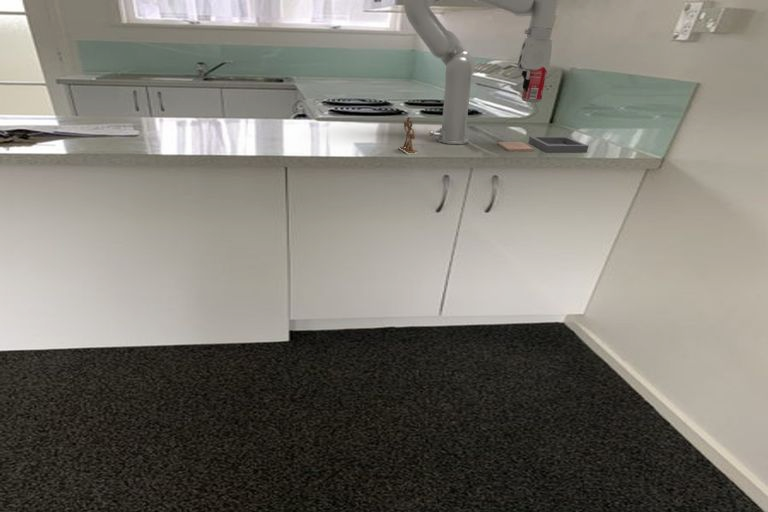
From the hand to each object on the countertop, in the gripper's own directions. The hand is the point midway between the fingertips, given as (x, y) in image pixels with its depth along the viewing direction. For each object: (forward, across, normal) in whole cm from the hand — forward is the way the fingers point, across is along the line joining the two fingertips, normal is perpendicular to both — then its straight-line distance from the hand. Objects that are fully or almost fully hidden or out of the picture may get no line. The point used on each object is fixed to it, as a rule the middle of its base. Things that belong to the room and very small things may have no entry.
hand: (527, 90), depth 153 cm
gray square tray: (+20, +16, -1) cm, 26 cm away
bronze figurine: (+22, -44, -6) cm, 49 cm away
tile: (+20, -1, -1) cm, 20 cm away
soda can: (+4, +2, 0) cm, 4 cm away
